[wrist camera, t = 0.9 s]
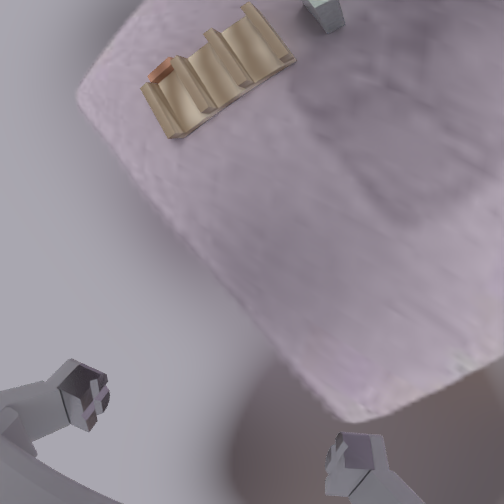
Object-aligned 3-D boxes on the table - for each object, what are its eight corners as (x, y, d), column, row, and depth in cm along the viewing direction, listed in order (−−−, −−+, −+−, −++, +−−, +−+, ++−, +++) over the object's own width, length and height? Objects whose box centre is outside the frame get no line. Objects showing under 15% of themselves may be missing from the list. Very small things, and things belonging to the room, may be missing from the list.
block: (321, -5, 33) (306, -37, 24) (345, 24, 34) (337, -4, 25) (303, 4, 34) (285, -26, 26) (327, 34, 35) (314, 8, 26)
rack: (255, 6, 37) (244, -5, 33) (296, 60, 38) (288, 52, 34) (153, 84, 46) (136, 82, 42) (184, 137, 48) (167, 138, 44)
